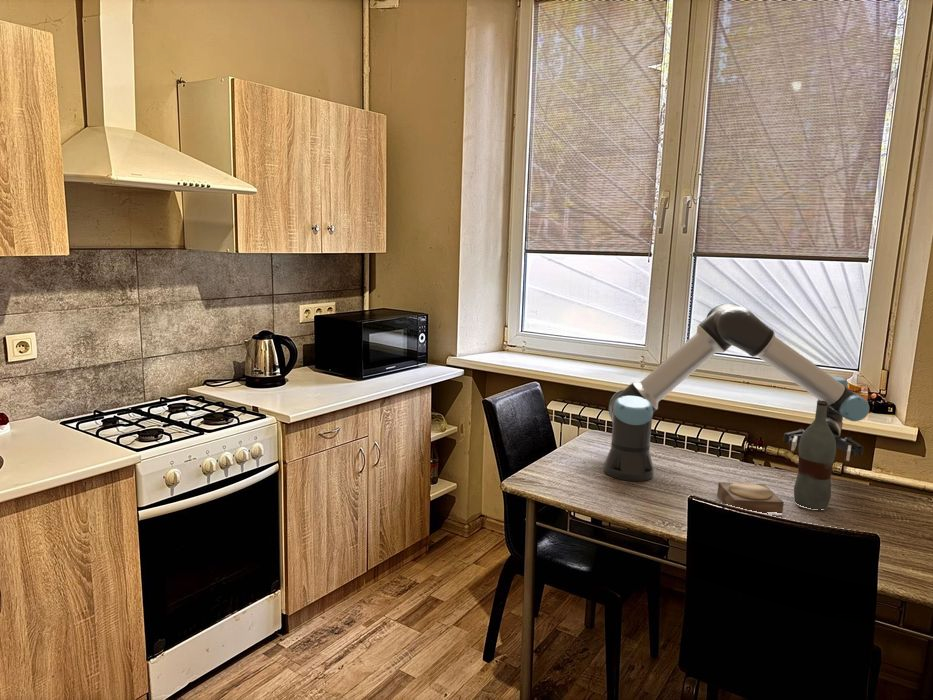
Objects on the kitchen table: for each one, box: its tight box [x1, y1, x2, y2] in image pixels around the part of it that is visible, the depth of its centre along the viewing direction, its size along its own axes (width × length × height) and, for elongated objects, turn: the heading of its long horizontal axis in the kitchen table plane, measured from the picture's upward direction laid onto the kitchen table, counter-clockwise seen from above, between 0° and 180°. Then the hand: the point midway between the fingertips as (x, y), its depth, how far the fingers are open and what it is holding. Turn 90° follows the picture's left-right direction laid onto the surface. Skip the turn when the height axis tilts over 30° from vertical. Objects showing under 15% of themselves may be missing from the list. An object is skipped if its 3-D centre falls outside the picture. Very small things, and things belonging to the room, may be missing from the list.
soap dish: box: [716, 481, 785, 514], centre depth 184 cm, size 13×13×5 cm
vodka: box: [793, 400, 837, 510], centre depth 183 cm, size 9×9×30 cm
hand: (820, 451), depth 183 cm, fingers open, 13 cm apart
